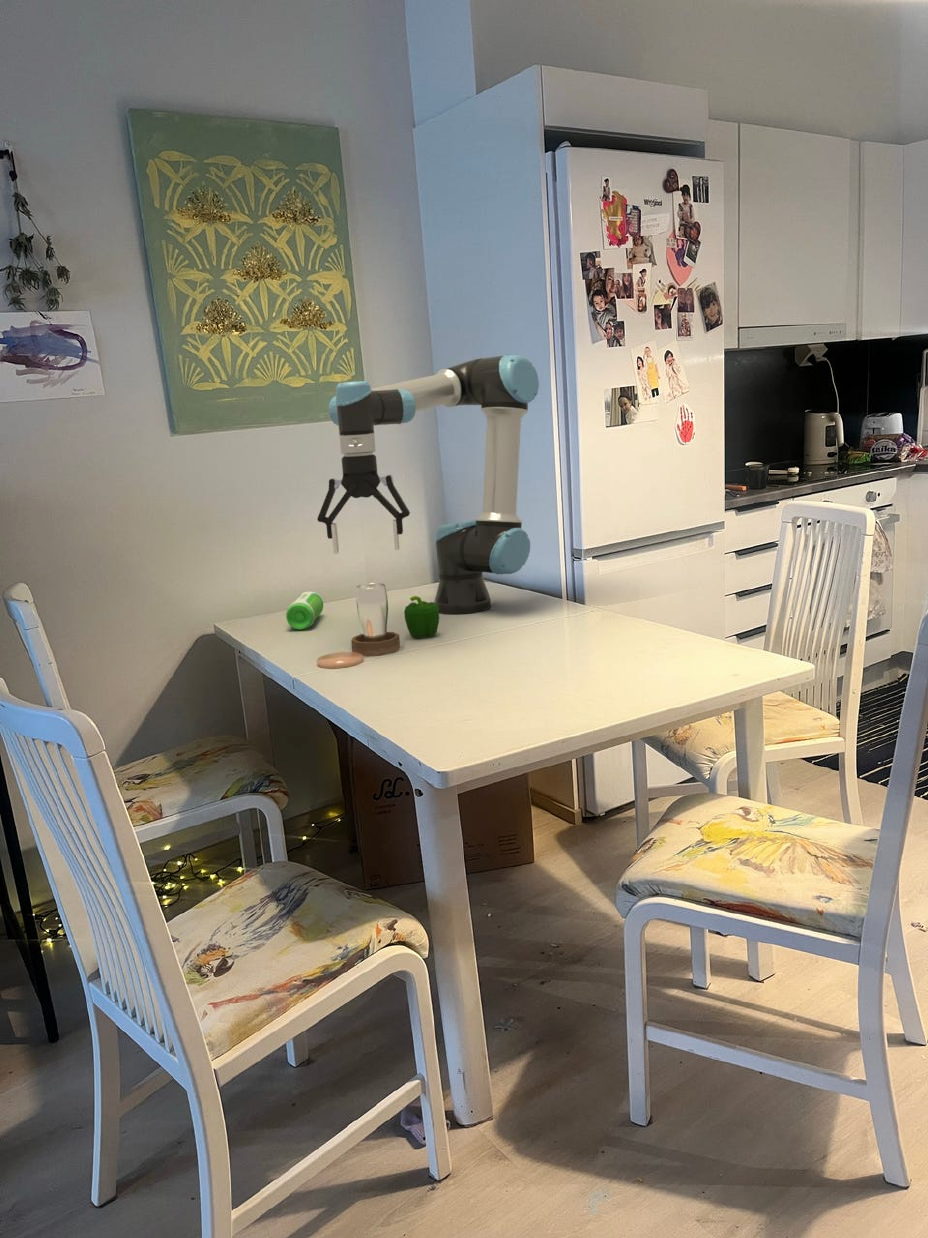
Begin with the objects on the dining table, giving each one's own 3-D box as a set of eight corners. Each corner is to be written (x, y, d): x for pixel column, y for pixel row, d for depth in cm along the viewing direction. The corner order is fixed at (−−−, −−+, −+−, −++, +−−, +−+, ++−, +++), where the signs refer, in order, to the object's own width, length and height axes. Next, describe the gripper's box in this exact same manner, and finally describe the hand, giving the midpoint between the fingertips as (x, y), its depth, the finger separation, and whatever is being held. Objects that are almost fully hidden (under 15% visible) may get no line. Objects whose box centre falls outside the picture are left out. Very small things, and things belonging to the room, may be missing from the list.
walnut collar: (401, 642, 223) (400, 630, 222) (397, 654, 212) (396, 641, 212) (356, 645, 223) (355, 633, 223) (350, 657, 213) (348, 644, 212)
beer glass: (398, 648, 218) (392, 583, 215) (375, 655, 213) (369, 589, 210) (377, 644, 223) (372, 581, 219) (354, 651, 218) (348, 586, 214)
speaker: (314, 631, 242) (311, 602, 240) (286, 632, 242) (283, 603, 241) (325, 616, 259) (323, 588, 258) (299, 617, 259) (296, 590, 258)
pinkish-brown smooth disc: (365, 655, 214) (365, 650, 214) (360, 667, 204) (359, 662, 204) (321, 657, 214) (320, 653, 214) (313, 669, 205) (313, 665, 204)
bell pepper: (435, 630, 233) (432, 590, 231) (444, 637, 226) (441, 595, 223) (401, 634, 231) (398, 594, 229) (410, 642, 223) (407, 600, 221)
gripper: (298, 459, 205) (308, 556, 210) (414, 451, 204) (421, 550, 209) (304, 457, 213) (314, 551, 217) (416, 450, 212) (423, 545, 216)
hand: (366, 551), depth 213 cm, fingers open, 13 cm apart
